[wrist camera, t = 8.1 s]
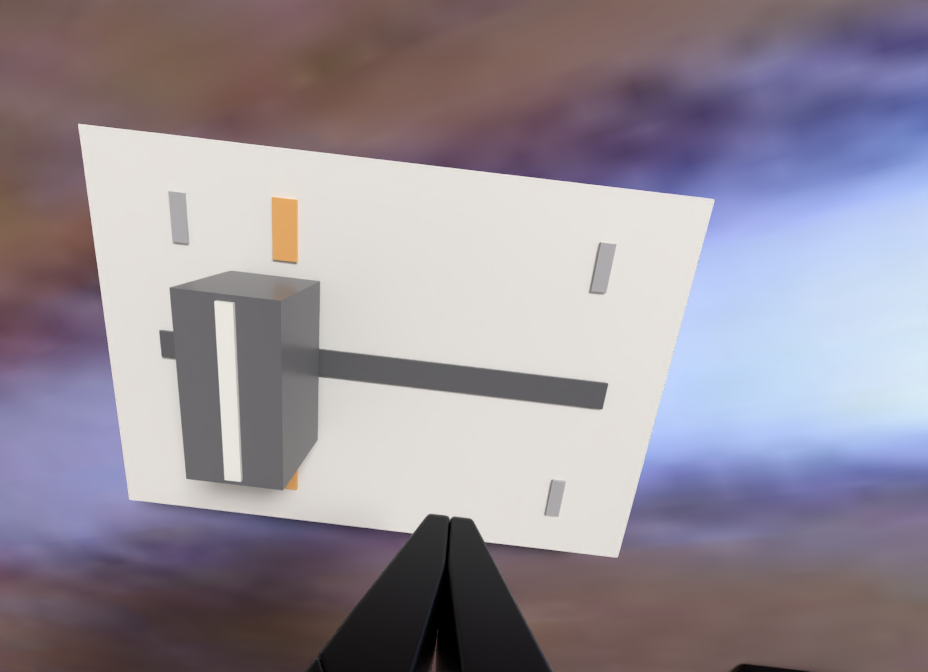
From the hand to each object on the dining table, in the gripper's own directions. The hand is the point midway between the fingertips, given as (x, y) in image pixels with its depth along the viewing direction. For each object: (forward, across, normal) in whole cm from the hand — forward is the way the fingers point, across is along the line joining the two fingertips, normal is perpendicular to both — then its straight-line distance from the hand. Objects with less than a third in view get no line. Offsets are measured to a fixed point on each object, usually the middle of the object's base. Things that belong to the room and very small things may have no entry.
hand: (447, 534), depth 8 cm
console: (+10, +3, 0) cm, 11 cm away
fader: (+7, +7, 0) cm, 10 cm away
